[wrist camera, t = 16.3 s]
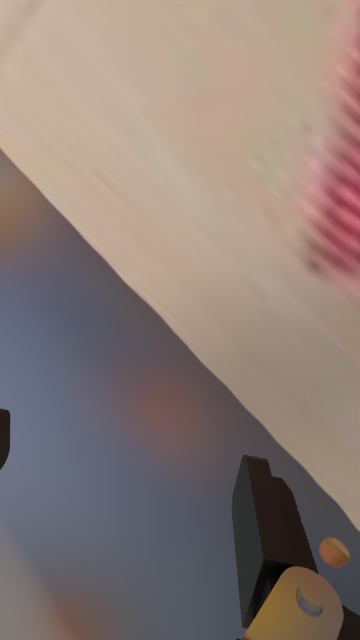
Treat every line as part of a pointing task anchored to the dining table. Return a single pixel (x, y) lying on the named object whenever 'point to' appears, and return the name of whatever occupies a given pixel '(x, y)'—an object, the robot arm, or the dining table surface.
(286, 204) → the dining table surface
